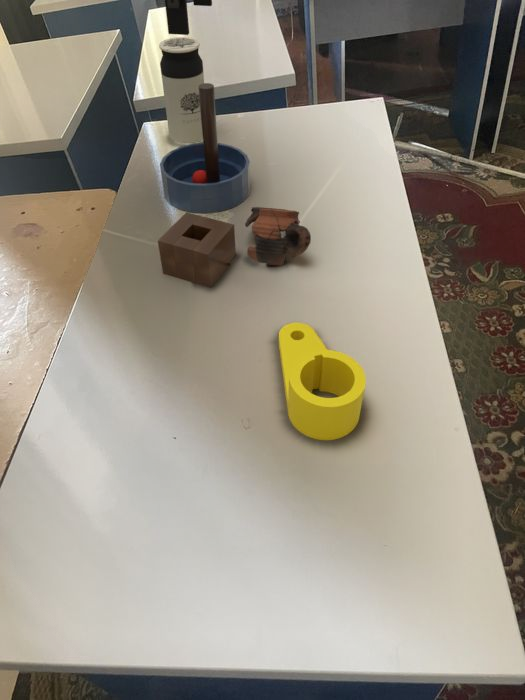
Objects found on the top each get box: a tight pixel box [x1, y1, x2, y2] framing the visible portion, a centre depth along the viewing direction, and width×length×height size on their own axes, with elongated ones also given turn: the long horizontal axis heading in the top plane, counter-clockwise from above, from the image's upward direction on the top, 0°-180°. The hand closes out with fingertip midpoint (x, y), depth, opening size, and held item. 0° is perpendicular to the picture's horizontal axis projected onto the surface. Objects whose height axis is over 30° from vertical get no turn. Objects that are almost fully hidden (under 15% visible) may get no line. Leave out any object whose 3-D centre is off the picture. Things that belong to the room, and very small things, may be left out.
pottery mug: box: [244, 206, 312, 266], centre depth 88 cm, size 12×10×8 cm
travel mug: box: [158, 36, 205, 145], centre depth 111 cm, size 8×8×18 cm
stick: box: [198, 82, 220, 183], centre depth 94 cm, size 2×2×18 cm
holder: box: [157, 211, 237, 289], centre depth 85 cm, size 8×8×6 cm
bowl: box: [159, 142, 251, 214], centre depth 99 cm, size 15×15×6 cm
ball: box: [192, 170, 207, 184], centre depth 101 cm, size 3×3×3 cm
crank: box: [278, 322, 367, 441], centre depth 68 cm, size 18×8×6 cm, turn 14°
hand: (191, 18), depth 81 cm, fingers open, 13 cm apart
